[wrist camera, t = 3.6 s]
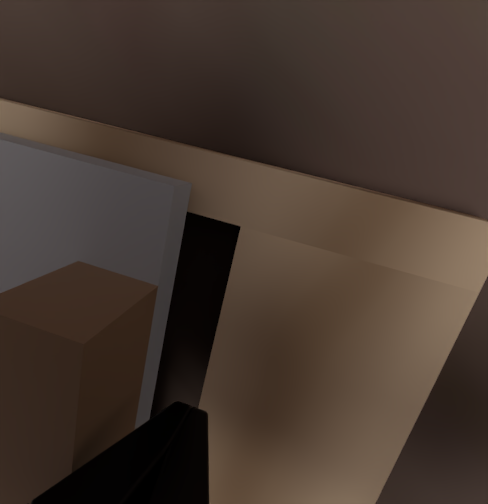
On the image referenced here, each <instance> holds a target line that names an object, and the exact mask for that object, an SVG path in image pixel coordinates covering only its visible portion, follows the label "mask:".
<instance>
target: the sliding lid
mask: <svg viewBox="0 0 488 504" xmlns="http://www.w3.org/2000/svg"><path fill="white" fill-rule="evenodd" d="M191 186H192V183H189V182H186V181H182V180H178V179H174V178H171V177H167V176H163V175H159V174H156V173H152V172H148V171H144V170H140V169H137V168H133V167H129V166H125V165H122V164H118V163H114V162H110V161H106V160H103V159H99V158H95V157H91V156H88V155H84V154H80V153H76V152H73V151H69V150H65V149H61V148H57V147H54V146H50V145H46V144H42V143H39V142H35V141H31V140H27V139H23V138H20V137H16V136H12V135H8V134H5V133H1V132H0V504H27V503H30V504H31V502H32V500H33V499H34V498H36V497H37V496H39V495H40V494H42V493H43V492H45V491H46V490H48V489H49V488H50V487H52V486H53V485H55V484H56V483H58V482H59V481H61V480H62V479H64V478H65V477H66V476H68V475H69V474H71V473H72V472H74V471H75V470H77V469H78V468H80V467H81V466H82V465H84V464H85V463H87V462H88V461H90V460H91V459H93V458H94V457H96V456H97V455H98V454H100V453H101V452H103V451H104V450H106V449H107V448H109V447H110V446H112V445H113V444H115V443H116V442H117V441H119V440H120V439H122V438H123V437H125V436H126V435H128V434H129V433H131V432H132V431H133V430H135V429H136V428H138V427H139V426H141V425H142V424H144V423H145V422H147V421H148V420H149V418H150V413H151V407H152V402H153V396H154V391H155V385H156V380H157V374H158V369H159V363H160V358H161V352H162V347H163V341H164V335H165V330H166V324H167V319H168V313H169V308H170V302H171V297H172V291H173V286H174V280H175V275H176V269H177V264H178V258H179V252H180V247H181V241H182V236H183V230H184V225H185V219H186V214H187V208H188V203H189V197H190V192H191Z"/></svg>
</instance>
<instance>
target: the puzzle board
mask: <svg viewBox="0 0 488 504" xmlns="http://www.w3.org/2000/svg"><path fill="white" fill-rule="evenodd" d="M0 132H1V133H5V134H8V135H12V136H16V137H20V138H23V139H27V140H31V141H35V142H39V143H42V144H46V145H50V146H54V147H57V148H61V149H65V150H69V151H73V152H76V153H80V154H84V155H88V156H91V157H95V158H99V159H103V160H106V161H110V162H114V163H118V164H122V165H125V166H129V167H133V168H137V169H140V170H144V171H148V172H152V173H156V174H159V175H163V176H167V177H171V178H174V179H178V180H182V181H186V182H189V183H192V186H191V192H190V197H189V203H188V208H187V212H190V213H194V214H198V215H201V216H205V217H208V218H212V219H216V220H219V221H223V222H226V223H230V224H234V225H237V226H241V228H240V232H239V236H238V240H237V245H236V249H235V253H234V257H233V262H232V266H231V270H230V274H229V279H228V283H227V287H226V292H225V296H224V300H223V304H222V309H221V313H220V317H219V321H218V326H217V330H216V334H215V338H214V343H213V347H212V351H211V355H210V360H209V364H208V368H207V372H206V377H205V381H204V385H203V390H202V394H201V398H200V402H199V407H198V408H199V409H201V410H204V411H206V412H207V413H208V442H209V504H375V503H376V501H377V499H378V497H379V495H380V493H381V491H382V489H383V487H384V485H385V483H386V481H387V479H388V477H389V475H390V473H391V471H392V469H393V467H394V465H395V463H396V461H397V459H398V457H399V455H400V453H401V451H402V449H403V447H404V445H405V443H406V440H407V438H408V436H409V434H410V432H411V430H412V428H413V426H414V424H415V422H416V420H417V418H418V416H419V414H420V412H421V410H422V408H423V406H424V404H425V402H426V400H427V398H428V396H429V394H430V392H431V390H432V388H433V386H434V384H435V382H436V380H437V378H438V376H439V374H440V372H441V370H442V368H443V366H444V363H445V361H446V359H447V357H448V355H449V353H450V351H451V349H452V347H453V345H454V343H455V341H456V339H457V337H458V335H459V333H460V331H461V329H462V327H463V325H464V323H465V321H466V319H467V317H468V315H469V313H470V311H471V309H472V307H473V305H474V303H475V301H476V299H477V297H478V295H479V293H480V291H481V289H482V286H483V284H484V282H485V280H486V278H487V276H488V220H486V219H483V218H480V217H477V216H473V215H469V214H465V213H461V212H457V211H453V210H449V209H445V208H441V207H437V206H433V205H429V204H425V203H421V202H417V201H413V200H409V199H405V198H401V197H397V196H393V195H389V194H385V193H381V192H377V191H373V190H369V189H365V188H361V187H357V186H353V185H349V184H345V183H341V182H337V181H333V180H329V179H325V178H321V177H317V176H313V175H308V174H304V173H300V172H296V171H292V170H288V169H284V168H280V167H276V166H272V165H268V164H264V163H260V162H256V161H252V160H248V159H244V158H240V157H236V156H232V155H228V154H224V153H220V152H216V151H212V150H208V149H204V148H200V147H196V146H192V145H188V144H184V143H180V142H176V141H172V140H168V139H164V138H160V137H156V136H152V135H148V134H144V133H140V132H136V131H132V130H128V129H124V128H120V127H116V126H112V125H108V124H104V123H100V122H96V121H92V120H88V119H84V118H80V117H76V116H72V115H68V114H64V113H60V112H56V111H52V110H47V109H43V108H39V107H35V106H31V105H27V104H23V103H19V102H15V101H11V100H7V99H3V98H0Z"/></svg>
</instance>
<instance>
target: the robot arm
mask: <svg viewBox="0 0 488 504" xmlns="http://www.w3.org/2000/svg"><path fill="white" fill-rule="evenodd" d="M27 504H30V503H27ZM31 504H209V442H208V413H207V412H206V411H204V410H201V409H199V408H196V407H191V406H190V405H187V404H185V403H182V402H179V401H177V402H174V403H173V404H171V405H170V406H168V407H167V408H165V409H164V410H163V411H161V412H160V413H158V414H157V415H155V416H154V417H152V418H151V419H149V420H148V421H147V422H145V423H144V424H142V425H141V426H139V427H138V428H136V429H135V430H133V431H132V432H131V433H129V434H128V435H126V436H125V437H123V438H122V439H120V440H119V441H117V442H116V443H115V444H113V445H112V446H110V447H109V448H107V449H106V450H104V451H103V452H101V453H100V454H98V455H97V456H96V457H94V458H93V459H91V460H90V461H88V462H87V463H85V464H84V465H82V466H81V467H80V468H78V469H77V470H75V471H74V472H72V473H71V474H69V475H68V476H66V477H65V478H64V479H62V480H61V481H59V482H58V483H56V484H55V485H53V486H52V487H50V488H49V489H48V490H46V491H45V492H43V493H42V494H40V495H39V496H37V497H36V498H34V499H33V500H32V502H31Z"/></svg>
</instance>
